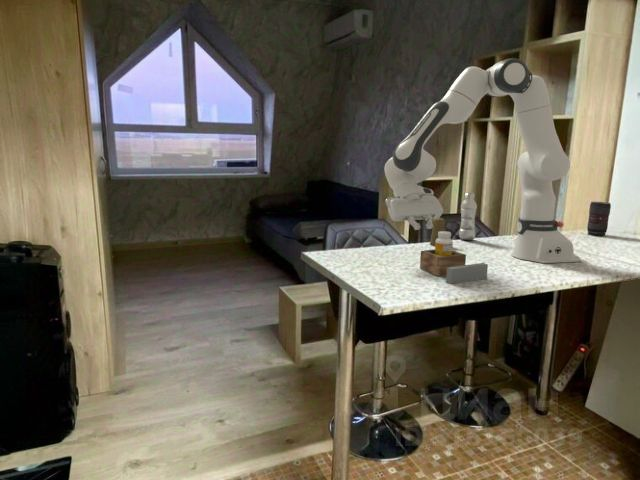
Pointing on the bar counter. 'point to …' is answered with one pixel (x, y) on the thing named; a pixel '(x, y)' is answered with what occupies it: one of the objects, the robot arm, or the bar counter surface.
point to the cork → (436, 229)
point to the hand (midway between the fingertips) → (424, 228)
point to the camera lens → (598, 218)
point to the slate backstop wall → (466, 273)
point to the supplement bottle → (443, 244)
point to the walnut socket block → (440, 262)
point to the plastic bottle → (468, 217)
